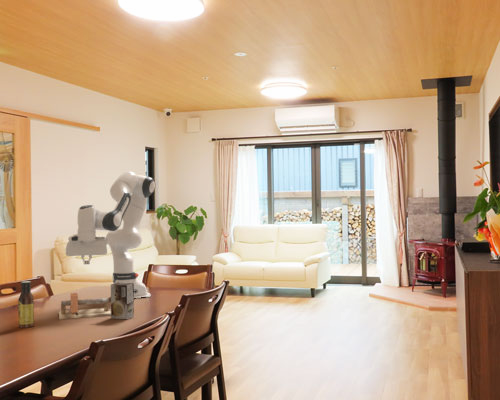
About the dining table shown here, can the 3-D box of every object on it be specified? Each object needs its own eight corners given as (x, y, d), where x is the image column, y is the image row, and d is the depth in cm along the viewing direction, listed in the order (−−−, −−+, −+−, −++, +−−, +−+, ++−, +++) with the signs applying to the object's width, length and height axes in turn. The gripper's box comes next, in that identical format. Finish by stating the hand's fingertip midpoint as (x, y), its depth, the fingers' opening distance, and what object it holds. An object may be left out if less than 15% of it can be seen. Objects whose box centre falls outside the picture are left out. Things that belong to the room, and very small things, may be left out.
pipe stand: (108, 309, 271) (108, 295, 271) (112, 315, 258) (112, 299, 258) (58, 313, 262) (58, 298, 262) (59, 319, 249) (59, 303, 249)
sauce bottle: (21, 325, 237) (21, 280, 237) (35, 324, 237) (35, 280, 237) (16, 328, 230) (16, 282, 230) (30, 328, 231) (31, 282, 231)
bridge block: (76, 309, 262) (77, 292, 262) (77, 312, 255) (77, 295, 255) (70, 309, 261) (70, 293, 261) (71, 312, 254) (71, 295, 254)
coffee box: (134, 316, 254) (134, 283, 254) (127, 319, 248) (127, 284, 248) (117, 315, 257) (118, 282, 257) (110, 318, 251) (110, 284, 251)
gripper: (106, 236, 278) (106, 262, 278) (65, 237, 271) (65, 264, 271) (108, 236, 273) (108, 264, 272) (65, 237, 265) (65, 265, 265)
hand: (86, 264), depth 272 cm, fingers closed
